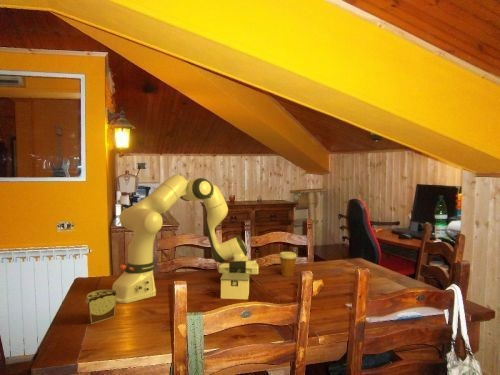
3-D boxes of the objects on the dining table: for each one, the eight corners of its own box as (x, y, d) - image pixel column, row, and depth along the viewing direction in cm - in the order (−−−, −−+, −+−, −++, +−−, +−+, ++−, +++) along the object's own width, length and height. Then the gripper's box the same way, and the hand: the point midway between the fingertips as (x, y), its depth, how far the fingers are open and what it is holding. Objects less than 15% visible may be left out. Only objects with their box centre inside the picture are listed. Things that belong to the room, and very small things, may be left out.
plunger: (229, 282, 189) (229, 260, 189) (245, 283, 189) (246, 260, 188) (225, 293, 173) (225, 269, 172) (243, 294, 172) (243, 269, 172)
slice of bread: (308, 297, 177) (309, 289, 177) (286, 286, 192) (286, 279, 192) (339, 292, 185) (339, 284, 185) (315, 281, 201) (315, 274, 201)
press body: (223, 291, 183) (223, 272, 182) (249, 292, 182) (249, 273, 182) (220, 298, 172) (220, 278, 172) (248, 299, 172) (248, 279, 171)
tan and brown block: (109, 311, 155) (109, 287, 154) (117, 315, 151) (117, 290, 150) (79, 320, 145) (78, 294, 145) (87, 325, 141) (87, 298, 141)
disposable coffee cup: (297, 277, 207) (297, 255, 206) (279, 277, 207) (279, 255, 207) (295, 273, 216) (296, 251, 216) (278, 272, 217) (278, 251, 216)
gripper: (220, 259, 203) (216, 265, 189) (259, 260, 202) (258, 267, 188) (219, 271, 203) (216, 278, 190) (258, 272, 202) (258, 280, 189)
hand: (237, 273), depth 189 cm, fingers closed, pressing on plunger
